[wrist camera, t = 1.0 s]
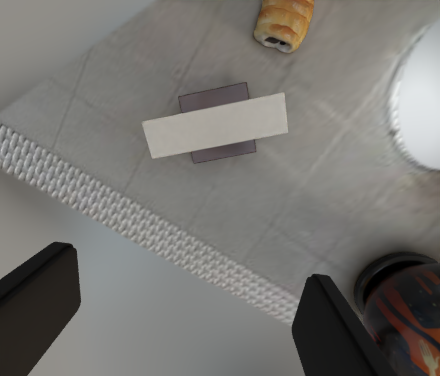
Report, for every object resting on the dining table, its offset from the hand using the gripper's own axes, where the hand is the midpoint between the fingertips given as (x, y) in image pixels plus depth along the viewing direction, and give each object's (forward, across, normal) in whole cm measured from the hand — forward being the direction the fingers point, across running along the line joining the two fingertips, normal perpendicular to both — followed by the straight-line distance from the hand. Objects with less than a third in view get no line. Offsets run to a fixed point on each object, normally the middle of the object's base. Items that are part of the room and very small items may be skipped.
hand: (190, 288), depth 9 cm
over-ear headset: (+23, 0, -6) cm, 24 cm away
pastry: (+27, -6, -21) cm, 35 cm away
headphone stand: (+27, 0, -6) cm, 28 cm away
